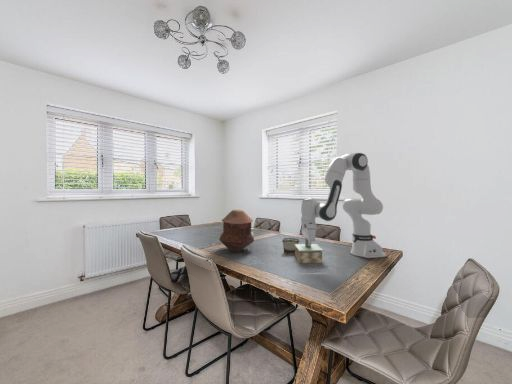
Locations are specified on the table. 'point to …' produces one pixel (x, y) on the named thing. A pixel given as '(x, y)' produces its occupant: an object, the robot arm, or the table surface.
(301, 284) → the table surface
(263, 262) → the table surface
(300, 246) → the lid
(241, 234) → the pottery vessel
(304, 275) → the table surface
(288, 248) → the food container
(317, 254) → the box
